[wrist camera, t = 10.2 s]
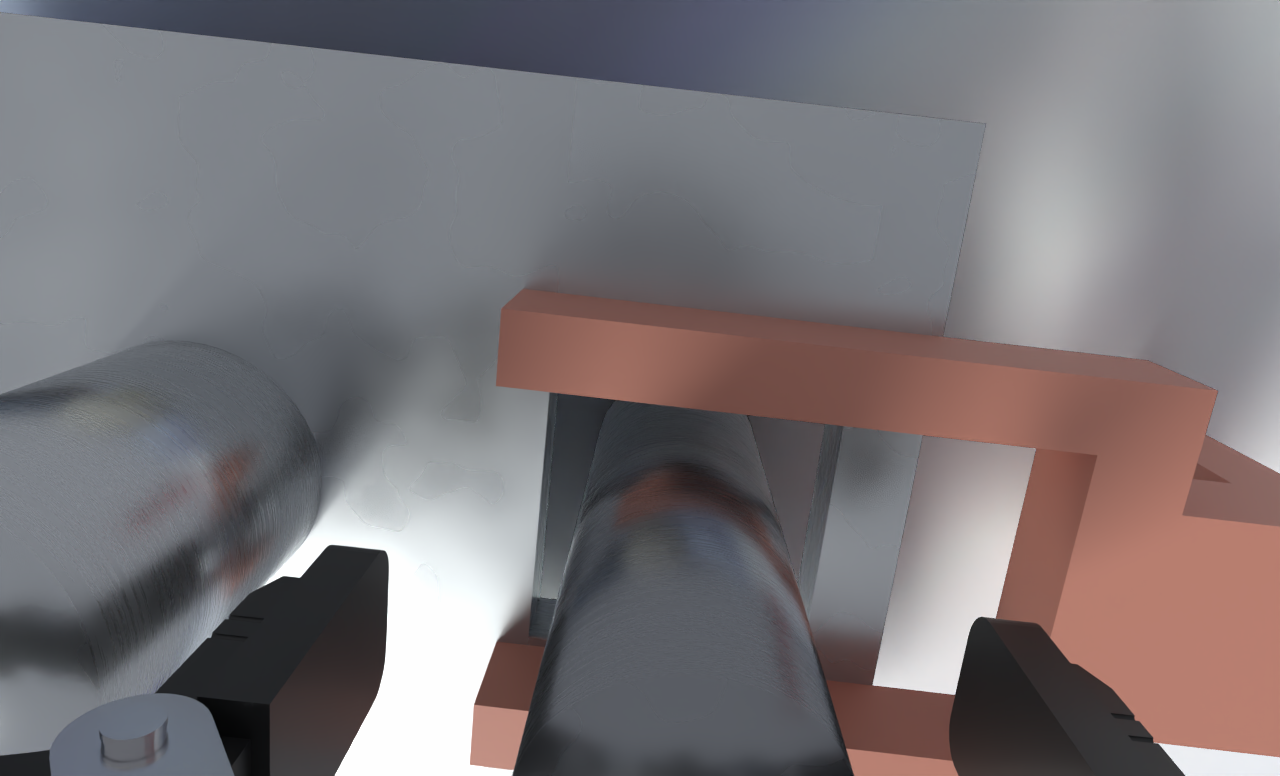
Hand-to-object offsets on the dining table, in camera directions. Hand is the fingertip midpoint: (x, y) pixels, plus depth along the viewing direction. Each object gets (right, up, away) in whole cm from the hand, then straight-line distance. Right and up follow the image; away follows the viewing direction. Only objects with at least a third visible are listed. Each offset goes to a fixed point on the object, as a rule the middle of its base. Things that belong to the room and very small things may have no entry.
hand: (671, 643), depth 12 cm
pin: (0, +2, +8) cm, 9 cm away
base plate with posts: (-5, +3, +8) cm, 10 cm away
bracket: (+4, +2, +8) cm, 10 cm away
